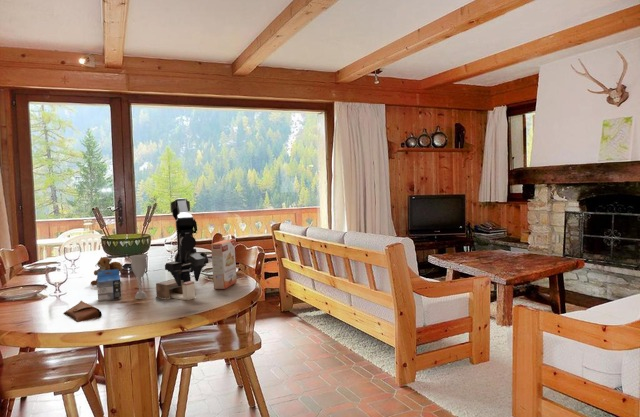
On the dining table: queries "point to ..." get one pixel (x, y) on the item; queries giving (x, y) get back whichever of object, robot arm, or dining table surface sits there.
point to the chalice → (139, 272)
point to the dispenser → (168, 288)
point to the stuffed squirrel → (106, 266)
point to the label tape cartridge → (108, 285)
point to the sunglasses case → (83, 312)
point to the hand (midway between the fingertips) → (188, 283)
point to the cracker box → (223, 264)
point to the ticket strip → (185, 292)
